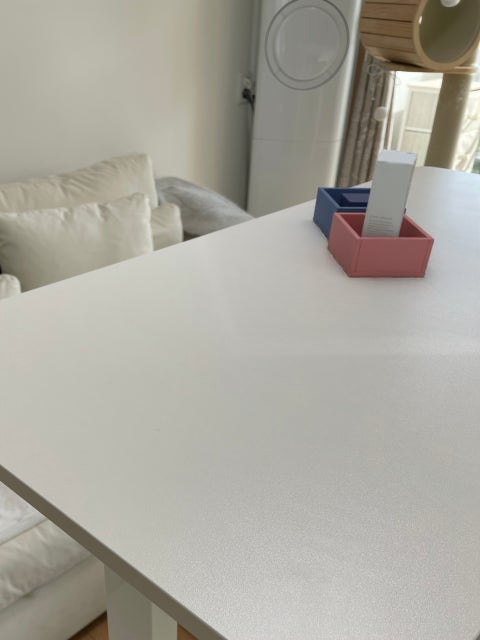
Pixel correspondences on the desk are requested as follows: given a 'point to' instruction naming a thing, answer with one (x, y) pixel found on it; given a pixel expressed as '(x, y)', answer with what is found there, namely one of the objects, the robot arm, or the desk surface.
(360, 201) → the navy block
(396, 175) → the cosmetic box
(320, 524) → the desk surface
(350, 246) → the rose bin
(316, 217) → the blue bin
